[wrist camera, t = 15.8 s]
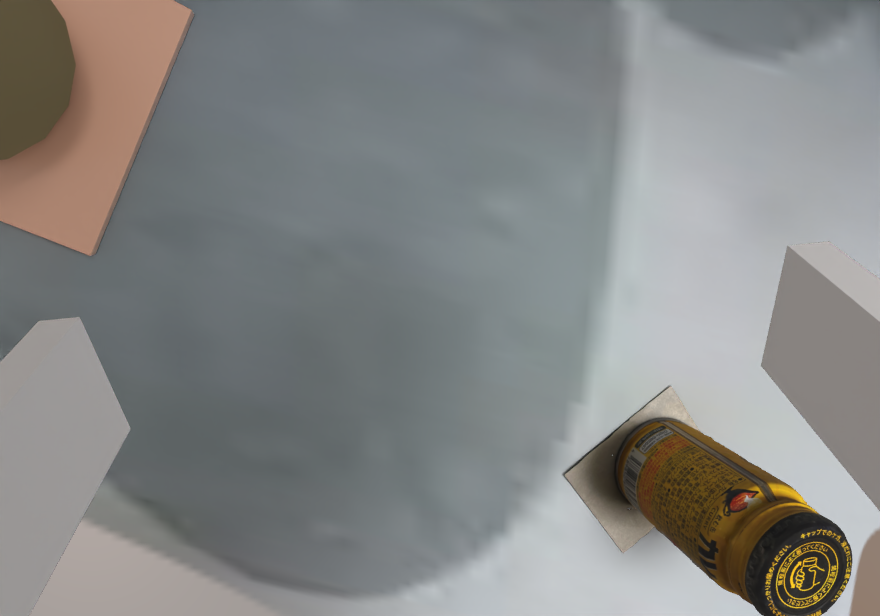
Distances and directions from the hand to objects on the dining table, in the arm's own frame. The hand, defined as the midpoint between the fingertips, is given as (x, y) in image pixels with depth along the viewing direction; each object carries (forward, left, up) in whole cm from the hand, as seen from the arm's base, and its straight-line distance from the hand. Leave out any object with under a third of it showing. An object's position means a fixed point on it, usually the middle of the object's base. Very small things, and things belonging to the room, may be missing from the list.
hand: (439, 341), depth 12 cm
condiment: (+5, +22, -21) cm, 31 cm away
